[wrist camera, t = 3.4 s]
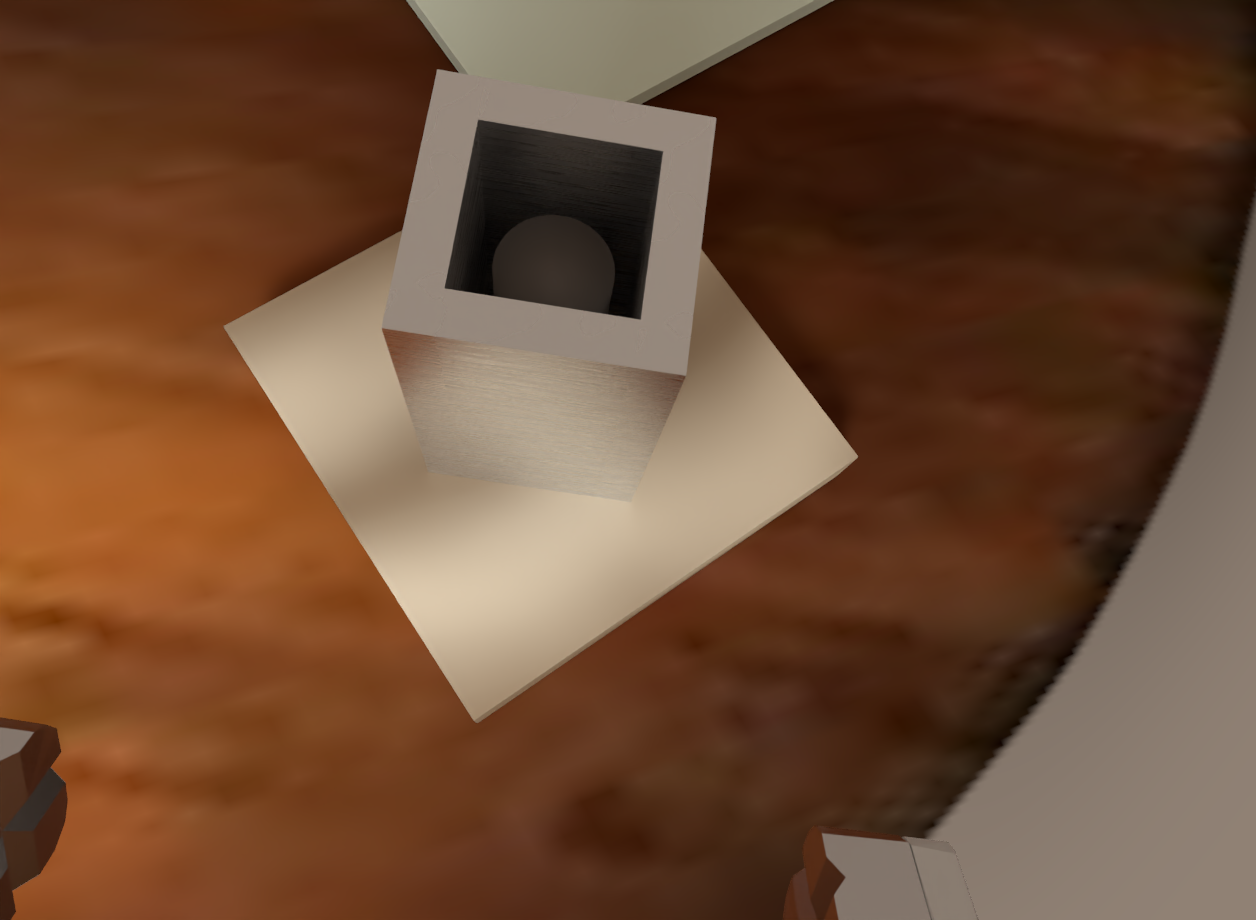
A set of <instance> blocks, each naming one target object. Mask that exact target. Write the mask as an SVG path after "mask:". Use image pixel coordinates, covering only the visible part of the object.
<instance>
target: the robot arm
mask: <svg viewBox="0 0 1256 920" xmlns="http://www.w3.org/2000/svg"><path fill="white" fill-rule="evenodd" d="M60 753H61V749H60V744H59V739H58V733H57V729H56V728H54V727H51V726H48V725H44V724H38V723H32V722H25V721H19V720H13V719H6V718H0V920H11V918H12V917H13V915H14V914H15V912H16V910H15V904H14V899H13V893H12V891H13V890H14V889H16V888H18V887H19V886H21V885H23V884H24V883H26V882H28V881H29V880H31V879H32V878H34V877H36V876H37V875H39V874H40V873H41V871H42V870H43V868H44V866H45V865H46V863H47V862H48V860H49V858H50V857H51V855H52V853H53V852H54V850H55V848H56V845H57V842H58V839H59V837H60V834H61V831H62V828H63V826H64V823H65V818H66V809H67V792H66V783H65V782H64V781H63V780H62V779H61V778H60V777H59V776H58V775H57V774H56V773H55V772H54V770H53V769H52V768H51V766H52V764H53V763H54V761H55V760H56V758H57V757H58V756H59V754H60ZM802 851H803V857H804V864H805V869H803V870H802V871H800V872H799V873H797V874H796V875H794V876H793V877H792V879H791V883H790V886H789V889H788V892H787V895H786V900H785V908H784V916H783V920H978V917H977V914H976V911H975V908H974V905H973V902H972V899H971V896H970V894H969V891H968V888H967V885H966V882H965V879H964V876H963V873H962V870H961V867H960V864H959V862H958V858H957V855H956V852H955V850H954V849H953V848H952V847H951V845H950V844H949V843H948V842H943V841H935V840H927V839H919V838H911V837H900V836H898V835H890V834H881V833H873V832H865V831H856V830H848V829H840V828H832V827H823V826H815V825H814V827H813V828H812V829H811V830H810V831H809V832H808V835H807V837H806V840H805V843H804V845H803V848H802Z"/></svg>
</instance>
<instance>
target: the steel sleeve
mask: <svg viewBox="0 0 1256 920" xmlns="http://www.w3.org/2000/svg"><path fill="white" fill-rule="evenodd" d="M715 126H716V118H715V117H709V116H704V115H698V114H692V113H686V112H681V111H675V110H669V109H663V108H658V107H652V106H646V105H640V104H635V103H629V102H623V101H617V100H611V99H606V98H600V97H594V96H588V95H583V94H577V93H571V92H565V91H560V90H554V89H548V88H542V87H537V86H531V85H525V84H519V83H514V82H508V81H502V80H496V79H490V78H485V77H479V76H473V75H467V74H462V73H456V72H450V71H444V70H439V69H437V73H436V78H435V82H434V87H433V92H432V96H431V101H430V106H429V110H428V115H427V119H426V124H425V129H424V133H423V138H422V142H421V147H420V152H419V156H418V161H417V166H416V170H415V175H414V179H413V184H412V189H411V193H410V198H409V203H408V207H407V212H406V216H405V221H404V226H403V230H402V235H401V239H400V244H399V249H398V253H397V258H396V263H395V267H394V272H393V276H392V281H391V286H390V290H389V295H388V300H387V304H386V309H385V313H384V318H383V323H382V327H381V328H382V332H383V335H384V338H385V341H386V344H387V347H388V350H389V353H390V356H391V359H392V362H393V365H394V368H395V371H396V374H397V377H398V380H399V384H400V387H401V390H402V393H403V396H404V399H405V402H406V405H407V408H408V411H409V414H410V417H411V420H412V423H413V426H414V429H415V432H416V435H417V439H418V442H419V445H420V448H421V451H422V454H423V457H424V460H425V463H426V466H427V469H428V472H431V473H438V474H444V475H451V476H458V477H464V478H471V479H478V480H485V481H491V482H498V483H505V484H512V485H518V486H525V487H532V488H538V489H545V490H552V491H559V492H565V493H572V494H579V495H586V496H592V497H599V498H606V499H612V500H619V501H626V502H631V501H632V499H633V496H634V494H635V492H636V490H637V487H638V485H639V483H640V480H641V478H642V476H643V474H644V471H645V469H646V467H647V464H648V462H649V460H650V458H651V455H652V453H653V451H654V448H655V446H656V444H657V441H658V439H659V437H660V435H661V432H662V430H663V428H664V425H665V423H666V421H667V419H668V416H669V414H670V412H671V409H672V407H673V405H674V403H675V400H676V398H677V396H678V393H679V391H680V389H681V387H682V384H683V382H684V380H685V377H686V373H687V365H688V356H689V348H690V339H691V331H692V322H693V313H694V305H695V296H696V288H697V279H698V271H699V262H700V254H701V245H702V237H703V228H704V220H705V211H706V202H707V194H708V185H709V177H710V168H711V160H712V151H713V143H714V134H715ZM544 215H560V216H566V217H570V218H573V219H576V220H578V221H581V222H583V223H584V224H586V225H588V226H589V227H591V228H592V229H594V230H595V231H596V232H597V233H598V234H599V235H600V236H601V237H602V239H603V240H604V241H605V243H606V244H607V246H608V247H609V249H610V252H611V254H612V257H613V260H614V266H615V278H614V285H613V290H612V295H611V300H610V305H609V310H608V314H601V313H595V312H589V311H583V310H576V309H570V308H564V307H558V306H551V305H545V304H539V303H533V302H526V301H520V300H514V299H508V298H501V297H495V296H494V292H493V275H492V264H493V258H494V254H495V251H496V249H497V247H498V245H499V243H500V241H501V240H502V238H503V237H504V236H505V235H506V234H507V233H508V232H509V231H510V230H511V229H512V228H513V227H515V226H516V225H518V224H519V223H521V222H523V221H525V220H528V219H531V218H534V217H538V216H544Z"/></svg>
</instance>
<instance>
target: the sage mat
mask: <svg viewBox="0 0 1256 920" xmlns="http://www.w3.org/2000/svg"><path fill="white" fill-rule="evenodd" d="M406 1H407V2H408V4H409V5H410V6H411V8H412V9H413V10H414V12H415V13H416V15H417V16H418V17H419V19H420V20H421V21H422V23H423V24H424V26H425V27H426V28H427V30H428V31H429V32H430V34H431V35H432V36H433V38H434V39H435V41H436V42H437V43H438V45H439V46H440V47H441V49H442V50H443V52H444V53H445V54H446V56H447V57H448V58H449V60H450V61H451V63H452V64H453V65H454V67H455V68H456V69H457V71H458V72H459V73H462V74H467V75H473V76H479V77H485V78H490V79H496V80H502V81H508V82H514V83H519V84H525V85H531V86H537V87H542V88H548V89H554V90H560V91H565V92H571V93H577V94H583V95H588V96H594V97H600V98H606V99H611V100H617V101H623V102H629V103H635V104H642V103H644V102H646V101H648V100H650V99H652V98H653V97H655V96H657V95H659V94H661V93H663V92H665V91H666V90H668V89H670V88H672V87H674V86H676V85H678V84H679V83H681V82H683V81H685V80H687V79H689V78H691V77H692V76H694V75H696V74H698V73H700V72H702V71H704V70H705V69H707V68H709V67H711V66H713V65H715V64H717V63H718V62H720V61H722V60H724V59H726V58H728V57H730V56H732V55H733V54H735V53H737V52H739V51H741V50H743V49H745V48H746V47H748V46H750V45H752V44H754V43H756V42H758V41H759V40H761V39H763V38H765V37H767V36H769V35H771V34H772V33H774V32H776V31H778V30H780V29H782V28H784V27H785V26H787V25H789V24H791V23H793V22H795V21H797V20H798V19H800V18H802V17H804V16H806V15H808V14H810V13H811V12H813V11H815V10H817V9H819V8H821V7H823V6H824V5H826V4H828V3H830V2H832V1H834V0H406Z"/></svg>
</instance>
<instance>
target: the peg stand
mask: <svg viewBox="0 0 1256 920" xmlns="http://www.w3.org/2000/svg"><path fill="white" fill-rule="evenodd" d="M401 235H402V231H400V232H398V233H396V234H394V235H392V236H391V237H389V238H387V239H385V240H383V241H381V242H379V243H378V244H376V245H374V246H372V247H370V248H368V249H366V250H364V251H363V252H361V253H359V254H357V255H355V256H353V257H351V258H350V259H348V260H346V261H344V262H342V263H340V264H338V265H337V266H335V267H333V268H331V269H329V270H327V271H325V272H324V273H322V274H320V275H318V276H316V277H314V278H312V279H311V280H309V281H307V282H305V283H303V284H301V285H299V286H298V287H296V288H294V289H292V290H290V291H288V292H286V293H284V294H283V295H281V296H279V297H277V298H275V299H273V300H271V301H270V302H268V303H266V304H264V305H262V306H260V307H258V308H257V309H255V310H253V311H251V312H249V313H247V314H245V315H244V316H242V317H240V318H238V319H236V320H234V321H232V322H231V323H229V324H227V325H225V326H223V327H224V329H225V330H226V332H227V333H228V335H229V336H230V338H231V340H232V341H233V343H234V344H235V346H236V347H237V349H238V351H239V352H240V354H241V355H242V357H243V358H244V360H245V362H246V363H247V365H248V366H249V368H250V369H251V371H252V373H253V374H254V376H255V377H256V379H257V380H258V382H259V384H260V385H261V387H262V388H263V390H264V391H265V393H266V395H267V396H268V398H269V399H270V401H271V402H272V404H273V406H274V407H275V409H276V410H277V412H278V413H279V415H280V417H281V418H282V420H283V421H284V423H285V424H286V426H287V428H288V429H289V431H290V432H291V434H292V435H293V437H294V439H295V440H296V442H297V443H298V445H299V447H300V448H301V450H302V451H303V453H304V454H305V456H306V458H307V459H308V461H309V462H310V464H311V465H312V467H313V469H314V470H315V472H316V473H317V475H318V476H319V478H320V480H321V481H322V483H323V484H324V486H325V487H326V489H327V491H328V492H329V494H330V495H331V497H332V498H333V500H334V502H335V503H336V505H337V506H338V508H339V509H340V511H341V513H342V514H343V516H344V517H345V519H346V520H347V522H348V524H349V525H350V527H351V528H352V530H353V531H354V533H355V535H356V536H357V538H358V539H359V541H360V542H361V544H362V546H363V547H364V549H365V550H366V552H367V554H368V555H369V557H370V558H371V560H372V561H373V563H374V565H375V566H376V568H377V569H378V571H379V572H380V574H381V576H382V577H383V579H384V580H385V582H386V583H387V585H388V587H389V588H390V590H391V591H392V593H393V594H394V596H395V598H396V599H397V601H398V602H399V604H400V605H401V607H402V609H403V610H404V612H405V613H406V615H407V616H408V618H409V620H410V621H411V623H412V624H413V626H414V627H415V629H416V631H417V632H418V634H419V635H420V637H421V638H422V640H423V642H424V643H425V645H426V646H427V648H428V649H429V651H430V653H431V654H432V656H433V657H434V659H435V661H436V662H437V664H438V665H439V667H440V668H441V670H442V672H443V673H444V675H445V676H446V678H447V679H448V681H449V683H450V684H451V686H452V687H453V689H454V690H455V692H456V694H457V695H458V697H459V698H460V700H461V701H462V703H463V705H464V706H465V708H466V709H467V711H468V712H469V714H470V716H471V717H472V719H473V720H474V721H475V722H476V723H479V722H480V721H481V720H483V719H484V718H486V717H487V716H489V715H490V714H492V713H493V712H495V711H496V710H497V709H499V708H500V707H502V706H503V705H505V704H506V703H508V702H509V701H511V700H512V699H513V698H515V697H516V696H518V695H519V694H521V693H522V692H524V691H525V690H527V689H528V688H529V687H531V686H532V685H534V684H535V683H537V682H538V681H540V680H541V679H542V678H544V677H545V676H547V675H548V674H550V673H551V672H553V671H554V670H556V669H557V668H558V667H560V666H561V665H563V664H564V663H566V662H567V661H569V660H570V659H572V658H573V657H574V656H576V655H577V654H579V653H580V652H582V651H583V650H585V649H586V648H588V647H589V646H590V645H592V644H593V643H595V642H596V641H598V640H599V639H601V638H602V637H604V636H605V635H606V634H608V633H609V632H611V631H612V630H614V629H615V628H617V627H618V626H620V625H621V624H622V623H624V622H625V621H627V620H628V619H630V618H631V617H633V616H634V615H636V614H637V613H638V612H640V611H641V610H643V609H644V608H646V607H647V606H649V605H650V604H652V603H653V602H654V601H656V600H657V599H659V598H660V597H662V596H663V595H665V594H666V593H668V592H669V591H670V590H672V589H673V588H675V587H676V586H678V585H679V584H681V583H682V582H684V581H685V580H686V579H688V578H689V577H691V576H692V575H694V574H695V573H697V572H698V571H700V570H701V569H702V568H704V567H705V566H707V565H708V564H710V563H711V562H713V561H714V560H716V559H717V558H718V557H720V556H721V555H723V554H724V553H726V552H727V551H729V550H730V549H731V548H733V547H734V546H736V545H737V544H739V543H740V542H742V541H743V540H745V539H746V538H747V537H749V536H750V535H752V534H753V533H755V532H756V531H758V530H759V529H761V528H762V527H763V526H765V525H766V524H768V523H769V522H771V521H772V520H774V519H775V518H777V517H778V516H779V515H781V514H782V513H784V512H785V511H787V510H788V509H790V508H791V507H793V506H794V505H795V504H797V503H798V502H800V501H801V500H803V499H804V498H806V497H807V496H809V495H810V494H811V493H813V492H814V491H816V490H817V489H819V488H820V487H822V486H823V485H825V484H826V483H827V482H829V481H830V480H832V479H833V478H835V477H836V476H837V475H838V474H840V473H841V472H842V471H843V470H844V469H845V468H846V467H847V466H849V465H850V464H851V463H852V462H853V461H854V460H855V459H857V458H858V456H857V454H856V453H855V452H854V450H853V449H852V448H851V446H850V445H849V444H848V442H847V441H846V440H845V438H844V437H843V436H842V434H841V433H840V432H839V431H838V429H837V428H836V427H835V425H834V424H833V423H832V421H831V420H830V419H829V417H828V416H827V415H826V413H825V412H824V411H823V409H822V408H821V407H820V405H819V404H818V403H817V401H816V400H815V399H814V397H813V396H812V395H811V393H810V392H809V391H808V390H807V388H806V387H805V386H804V384H803V383H802V382H801V380H800V379H799V378H798V376H797V375H796V374H795V372H794V371H793V370H792V368H791V367H790V366H789V364H788V363H787V362H786V360H785V359H784V358H783V356H782V355H781V354H780V352H779V351H778V350H777V348H776V347H775V346H774V345H773V343H772V342H771V341H770V339H769V338H768V337H767V335H766V334H765V333H764V331H763V330H762V329H761V327H760V326H759V325H758V323H757V322H756V321H755V319H754V318H753V317H752V315H751V314H750V313H749V311H748V310H747V309H746V307H745V306H744V305H743V304H742V302H741V301H740V300H739V298H738V297H737V296H736V294H735V293H734V292H733V290H732V289H731V288H730V286H729V285H728V284H727V282H726V281H725V280H724V278H723V277H722V276H721V274H720V273H719V272H718V270H717V269H716V268H715V266H714V265H713V264H712V262H711V261H710V260H709V259H708V257H707V256H706V255H705V253H704V252H703V251H702V249H701V254H700V262H699V271H698V279H697V288H696V296H695V305H694V313H693V322H692V331H691V339H690V348H689V356H688V365H687V373H686V377H685V380H684V382H683V384H682V387H681V389H680V391H679V393H678V396H677V398H676V400H675V403H674V405H673V407H672V409H671V412H670V414H669V416H668V419H667V421H666V423H665V425H664V428H663V430H662V432H661V435H660V437H659V439H658V441H657V444H656V446H655V448H654V451H653V453H652V455H651V458H650V460H649V462H648V464H647V467H646V469H645V471H644V474H643V476H642V478H641V480H640V483H639V485H638V487H637V490H636V492H635V494H634V496H633V499H632V501H631V502H626V501H619V500H612V499H606V498H599V497H592V496H586V495H579V494H572V493H565V492H559V491H552V490H545V489H538V488H532V487H525V486H518V485H512V484H505V483H498V482H491V481H485V480H478V479H471V478H464V477H458V476H451V475H444V474H438V473H431V472H428V469H427V466H426V463H425V460H424V457H423V454H422V451H421V448H420V445H419V442H418V439H417V435H416V432H415V429H414V426H413V423H412V420H411V417H410V414H409V411H408V408H407V405H406V402H405V399H404V396H403V393H402V390H401V387H400V384H399V380H398V377H397V374H396V371H395V368H394V365H393V362H392V359H391V356H390V353H389V350H388V347H387V344H386V341H385V338H384V335H383V332H382V328H381V327H382V323H383V318H384V313H385V309H386V304H387V300H388V295H389V290H390V286H391V281H392V276H393V272H394V267H395V263H396V258H397V253H398V249H399V244H400V239H401ZM492 275H493V292H494V296H495V297H501V298H508V299H514V300H520V301H526V302H533V303H539V304H545V305H551V306H558V307H564V308H570V309H576V310H583V311H589V312H595V313H601V314H608V310H609V305H610V300H611V295H612V290H613V285H614V278H615V266H614V260H613V257H612V254H611V252H610V249H609V247H608V246H607V244H606V243H605V241H604V240H603V239H602V237H601V236H600V235H599V234H598V233H597V232H596V231H595V230H594V229H592V228H591V227H589V226H588V225H586V224H584V223H583V222H581V221H578V220H576V219H573V218H570V217H566V216H560V215H544V216H538V217H534V218H531V219H528V220H525V221H523V222H521V223H519V224H518V225H516V226H515V227H513V228H512V229H511V230H510V231H509V232H508V233H507V234H506V235H505V236H504V237H503V238H502V240H501V241H500V243H499V245H498V247H497V249H496V251H495V254H494V258H493V264H492Z"/></svg>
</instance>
